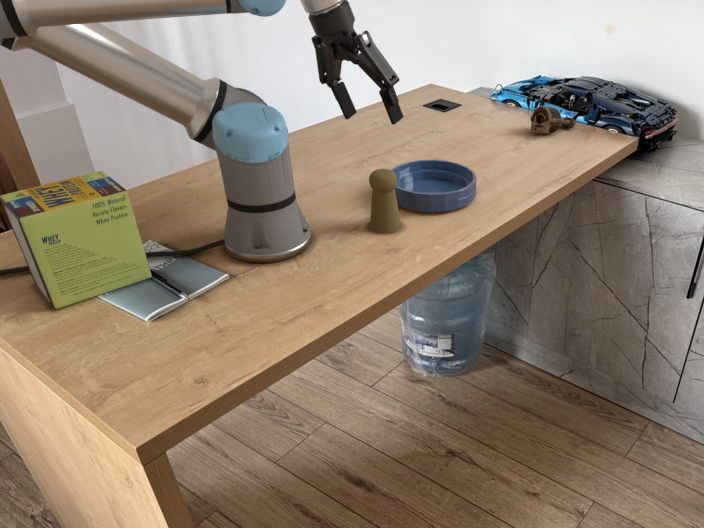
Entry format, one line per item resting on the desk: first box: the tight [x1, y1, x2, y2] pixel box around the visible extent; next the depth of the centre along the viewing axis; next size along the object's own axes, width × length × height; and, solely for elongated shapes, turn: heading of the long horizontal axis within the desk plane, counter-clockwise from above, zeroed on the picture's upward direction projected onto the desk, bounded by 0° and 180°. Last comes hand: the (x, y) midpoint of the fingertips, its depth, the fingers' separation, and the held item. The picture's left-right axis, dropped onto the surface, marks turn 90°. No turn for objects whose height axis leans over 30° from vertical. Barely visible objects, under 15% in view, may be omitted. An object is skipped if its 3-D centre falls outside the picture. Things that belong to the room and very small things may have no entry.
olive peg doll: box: [368, 168, 402, 234], centre depth 126 cm, size 6×6×11 cm
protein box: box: [0, 170, 153, 310], centre depth 106 cm, size 10×15×16 cm
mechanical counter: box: [529, 105, 577, 135], centre depth 173 cm, size 7×13×10 cm
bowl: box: [390, 159, 478, 214], centre depth 140 cm, size 18×18×4 cm
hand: (373, 118), depth 131 cm, fingers open, 13 cm apart
